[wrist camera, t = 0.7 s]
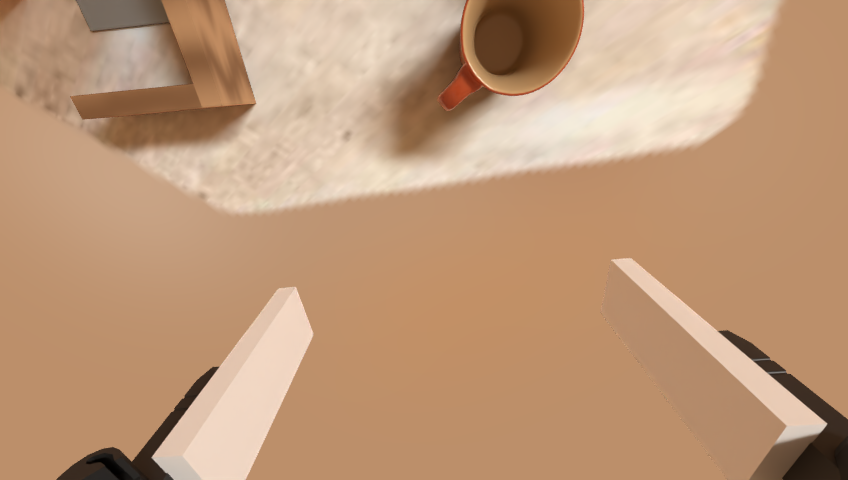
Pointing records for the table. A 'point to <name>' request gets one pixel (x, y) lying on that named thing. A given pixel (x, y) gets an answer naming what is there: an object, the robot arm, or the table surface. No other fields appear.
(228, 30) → the corner walls
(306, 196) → the table surface
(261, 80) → the table surface
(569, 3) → the mug
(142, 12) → the pad
